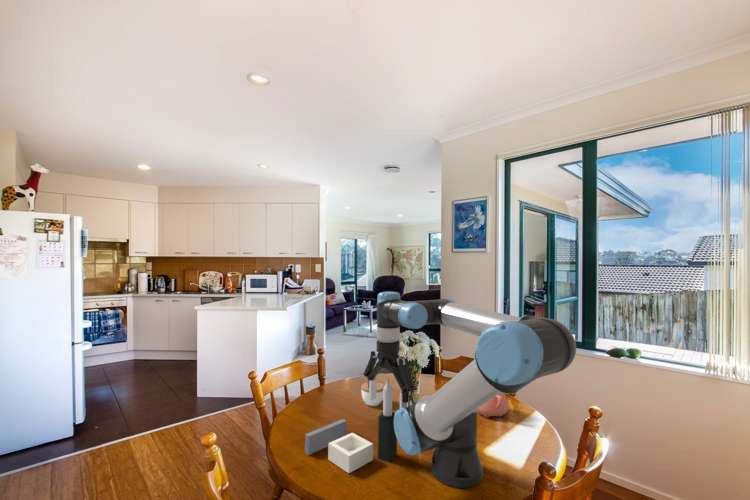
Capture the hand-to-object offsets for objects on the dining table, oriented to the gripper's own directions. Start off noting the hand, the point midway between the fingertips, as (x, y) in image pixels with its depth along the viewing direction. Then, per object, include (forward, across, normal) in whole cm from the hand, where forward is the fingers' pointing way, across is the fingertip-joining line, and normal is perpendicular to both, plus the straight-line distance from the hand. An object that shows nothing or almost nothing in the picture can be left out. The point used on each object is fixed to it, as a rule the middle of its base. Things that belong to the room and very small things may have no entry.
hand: (387, 405), depth 111 cm
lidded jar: (+16, +33, -26) cm, 45 cm away
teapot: (+16, -7, -55) cm, 58 cm away
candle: (+16, 0, 0) cm, 16 cm away
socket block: (+16, +6, +10) cm, 20 cm away
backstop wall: (+16, +19, +10) cm, 27 cm away
